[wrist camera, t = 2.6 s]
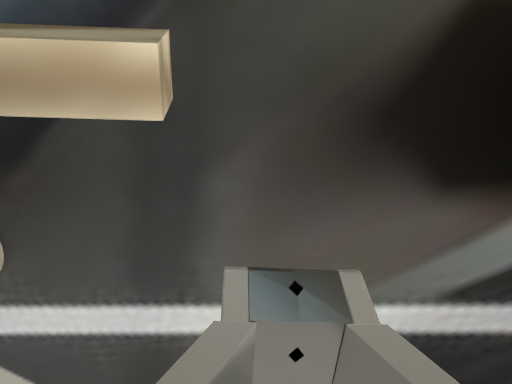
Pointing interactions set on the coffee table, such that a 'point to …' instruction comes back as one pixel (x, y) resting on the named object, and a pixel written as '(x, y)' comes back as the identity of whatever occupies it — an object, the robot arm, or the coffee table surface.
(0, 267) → the travel mug
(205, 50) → the coffee table surface
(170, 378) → the robot arm
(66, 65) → the rod
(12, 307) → the coffee table surface
